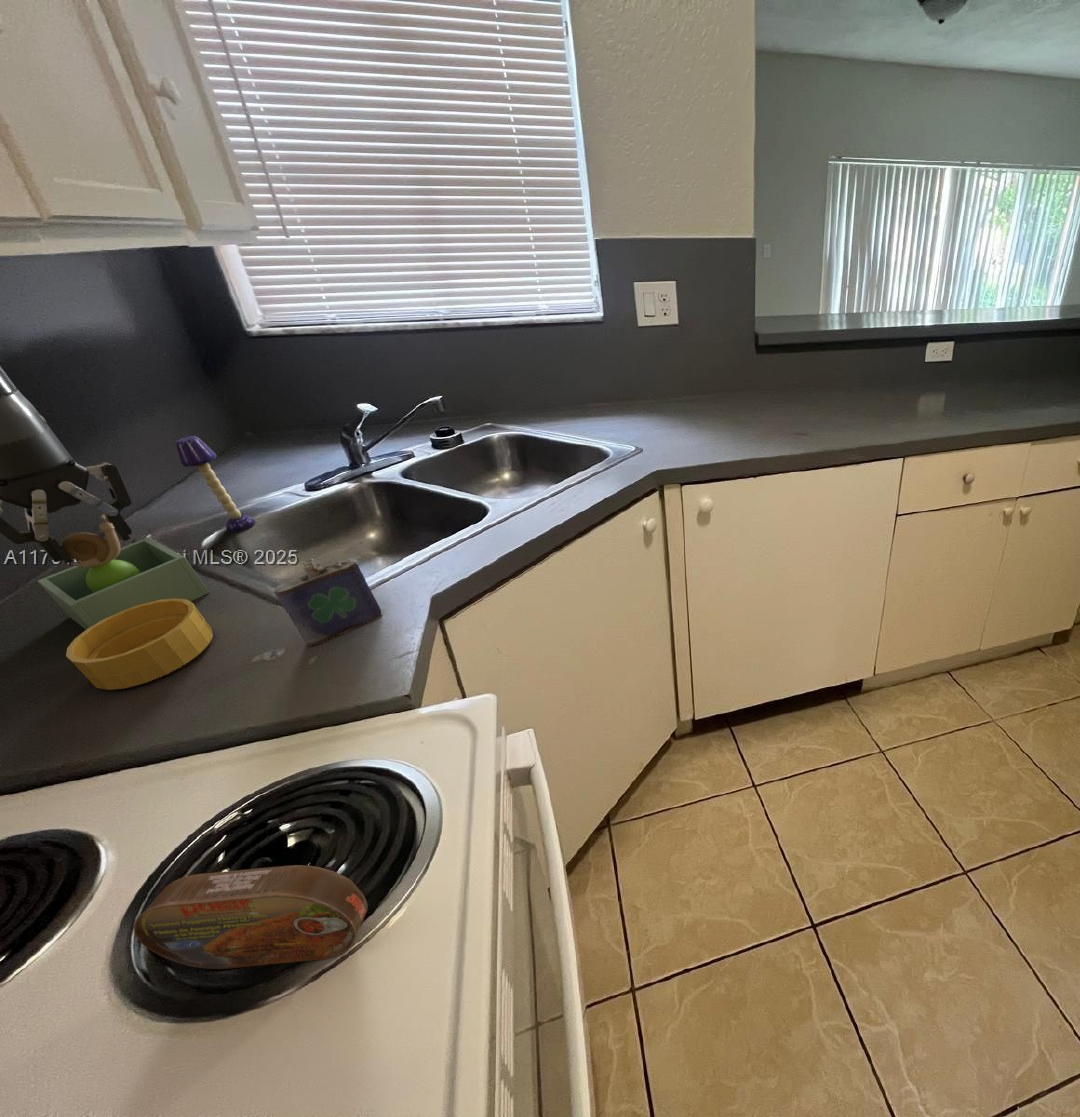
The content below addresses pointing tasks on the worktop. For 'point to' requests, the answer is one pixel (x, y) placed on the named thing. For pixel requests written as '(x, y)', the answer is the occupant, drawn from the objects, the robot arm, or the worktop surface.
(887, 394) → the worktop surface
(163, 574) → the bin
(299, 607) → the clover box
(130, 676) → the bowl
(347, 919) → the tin
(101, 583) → the snail figurine
